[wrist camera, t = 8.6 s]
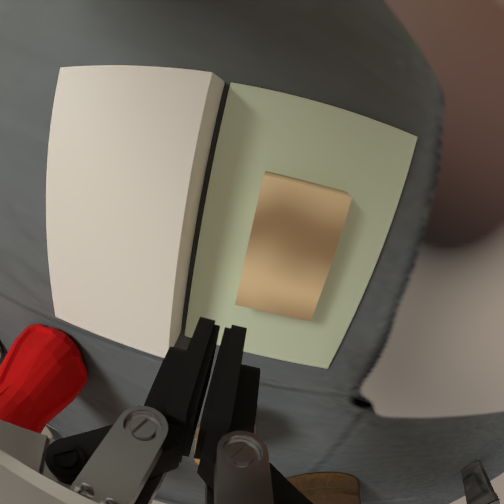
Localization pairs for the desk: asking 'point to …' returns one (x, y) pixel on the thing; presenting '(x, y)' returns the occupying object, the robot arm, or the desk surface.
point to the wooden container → (328, 488)
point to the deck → (127, 196)
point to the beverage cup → (478, 485)
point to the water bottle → (39, 377)
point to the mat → (309, 169)
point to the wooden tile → (291, 245)
